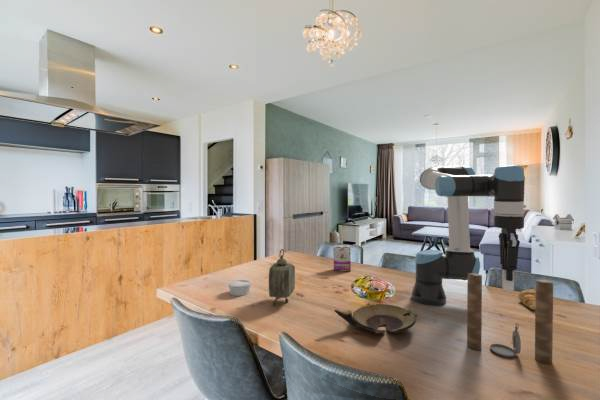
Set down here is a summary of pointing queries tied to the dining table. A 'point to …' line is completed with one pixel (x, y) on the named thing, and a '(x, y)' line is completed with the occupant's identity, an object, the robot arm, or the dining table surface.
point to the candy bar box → (342, 258)
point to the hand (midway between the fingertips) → (507, 289)
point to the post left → (474, 311)
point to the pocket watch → (507, 350)
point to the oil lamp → (380, 318)
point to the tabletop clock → (281, 279)
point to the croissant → (528, 298)
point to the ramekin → (239, 287)
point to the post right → (544, 321)
